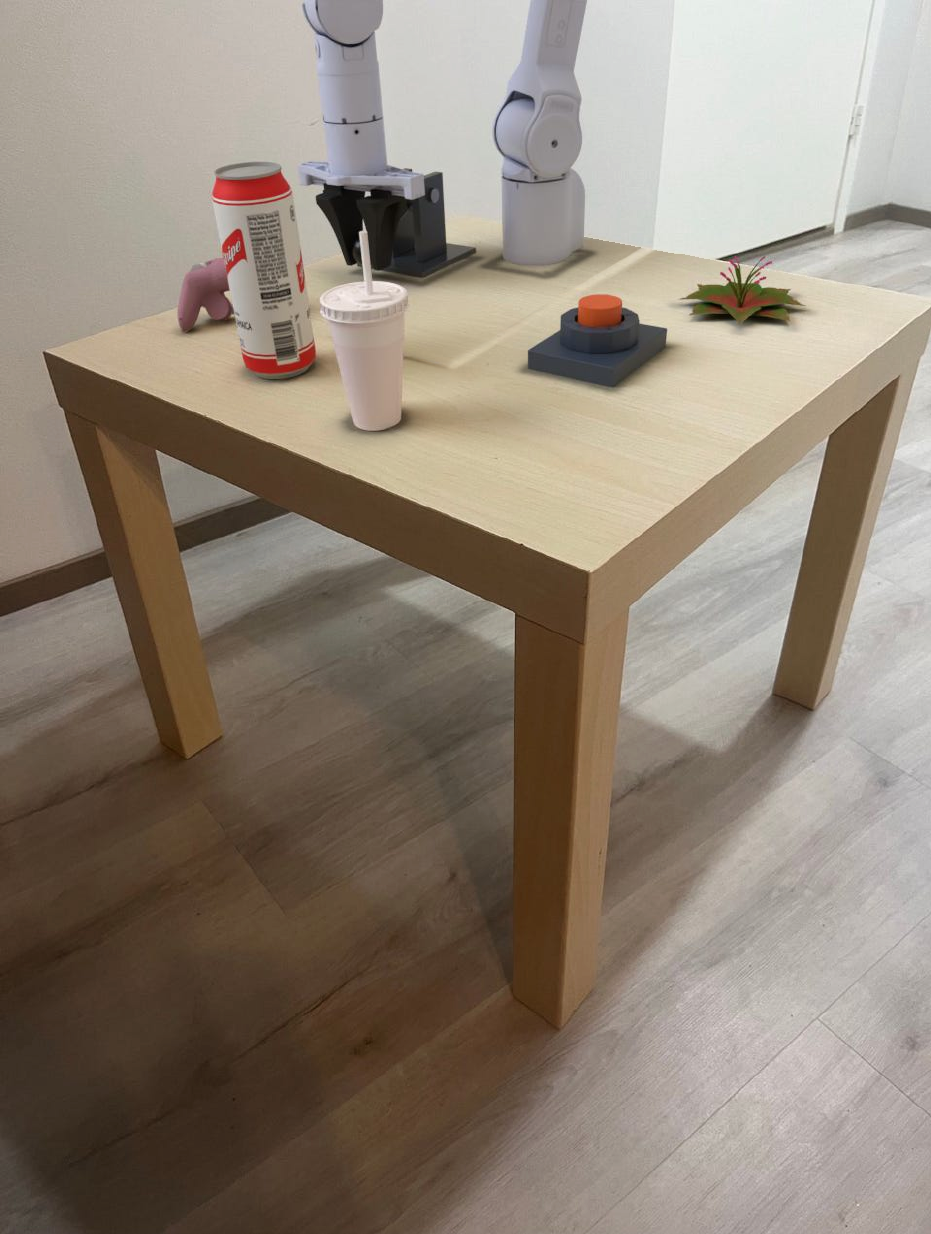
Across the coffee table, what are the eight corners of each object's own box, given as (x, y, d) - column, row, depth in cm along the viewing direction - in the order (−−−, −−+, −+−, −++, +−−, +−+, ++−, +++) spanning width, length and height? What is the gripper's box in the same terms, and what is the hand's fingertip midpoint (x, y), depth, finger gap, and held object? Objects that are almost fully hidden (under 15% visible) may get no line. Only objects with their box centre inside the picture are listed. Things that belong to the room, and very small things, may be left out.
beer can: (257, 388, 78) (218, 183, 68) (236, 363, 83) (197, 167, 73) (328, 372, 80) (299, 170, 71) (303, 349, 85) (274, 156, 75)
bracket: (423, 284, 98) (416, 189, 92) (357, 272, 102) (347, 181, 97) (476, 258, 104) (473, 168, 99) (412, 248, 109) (406, 161, 103)
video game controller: (288, 335, 92) (286, 260, 91) (274, 329, 87) (272, 251, 86) (192, 335, 93) (188, 262, 92) (173, 330, 89) (169, 252, 87)
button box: (585, 331, 85) (586, 293, 83) (665, 347, 81) (669, 307, 79) (527, 369, 79) (527, 329, 77) (612, 388, 75) (614, 346, 73)
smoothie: (386, 445, 69) (365, 249, 60) (318, 428, 72) (289, 238, 63) (434, 412, 73) (421, 224, 64) (368, 396, 76) (348, 214, 67)
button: (590, 312, 80) (591, 291, 79) (628, 319, 78) (629, 298, 77) (569, 325, 78) (570, 304, 77) (608, 332, 76) (609, 311, 75)
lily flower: (681, 285, 94) (686, 238, 91) (806, 291, 91) (815, 242, 88) (669, 328, 85) (674, 277, 82) (807, 335, 82) (817, 283, 79)
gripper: (268, 121, 89) (290, 266, 98) (386, 132, 82) (399, 286, 91) (317, 109, 94) (335, 248, 102) (433, 118, 87) (442, 266, 95)
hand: (368, 265), depth 97 cm, fingers closed on lever, 3 cm apart
